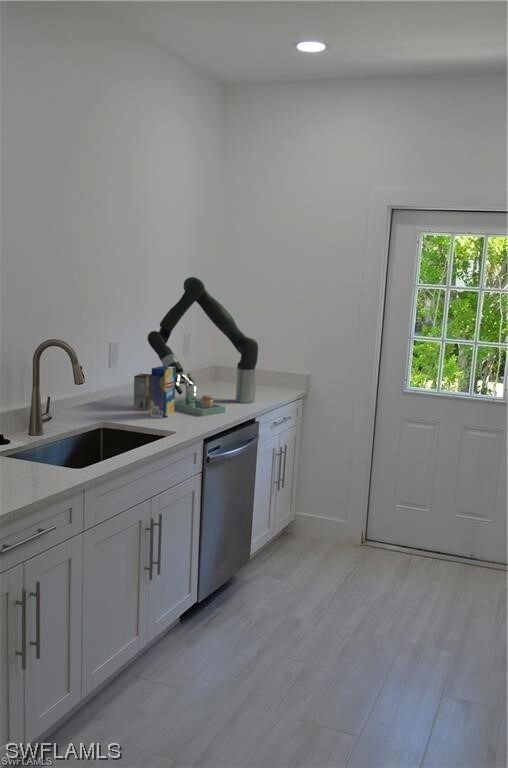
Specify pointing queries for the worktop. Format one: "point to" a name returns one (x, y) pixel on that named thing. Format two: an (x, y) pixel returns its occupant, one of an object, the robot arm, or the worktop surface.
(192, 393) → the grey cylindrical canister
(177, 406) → the tray
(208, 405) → the pestle
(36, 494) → the worktop surface
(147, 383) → the coffee box
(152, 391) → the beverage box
